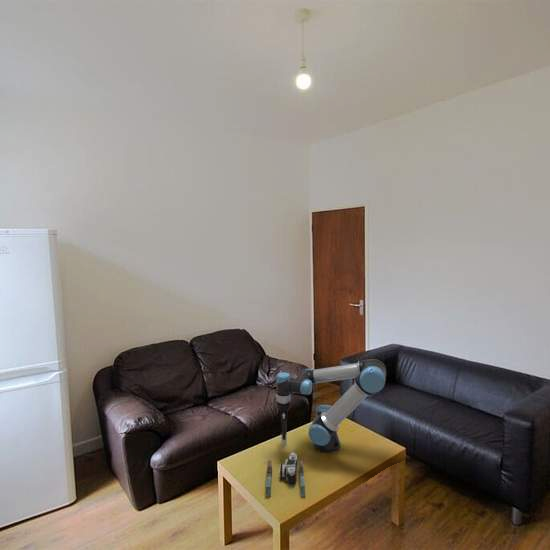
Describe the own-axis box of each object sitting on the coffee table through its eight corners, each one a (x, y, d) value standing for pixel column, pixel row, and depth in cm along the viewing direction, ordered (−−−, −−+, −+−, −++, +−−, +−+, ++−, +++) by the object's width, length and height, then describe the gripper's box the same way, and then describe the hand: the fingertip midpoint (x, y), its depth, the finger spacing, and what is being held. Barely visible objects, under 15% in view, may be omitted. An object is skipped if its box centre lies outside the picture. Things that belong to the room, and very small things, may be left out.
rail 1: (271, 469, 188) (271, 459, 187) (270, 496, 168) (270, 486, 167) (268, 469, 188) (267, 459, 187) (266, 496, 168) (265, 486, 167)
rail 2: (302, 469, 187) (302, 459, 187) (305, 496, 167) (304, 485, 167) (298, 469, 187) (298, 459, 187) (300, 496, 167) (300, 485, 167)
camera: (282, 465, 191) (281, 447, 190) (298, 466, 190) (297, 448, 189) (278, 486, 175) (278, 466, 174) (296, 486, 174) (296, 467, 173)
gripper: (277, 391, 212) (277, 425, 214) (276, 411, 187) (277, 450, 189) (289, 391, 212) (290, 425, 214) (290, 411, 187) (291, 450, 189)
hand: (284, 437), depth 202 cm, fingers open, 13 cm apart
